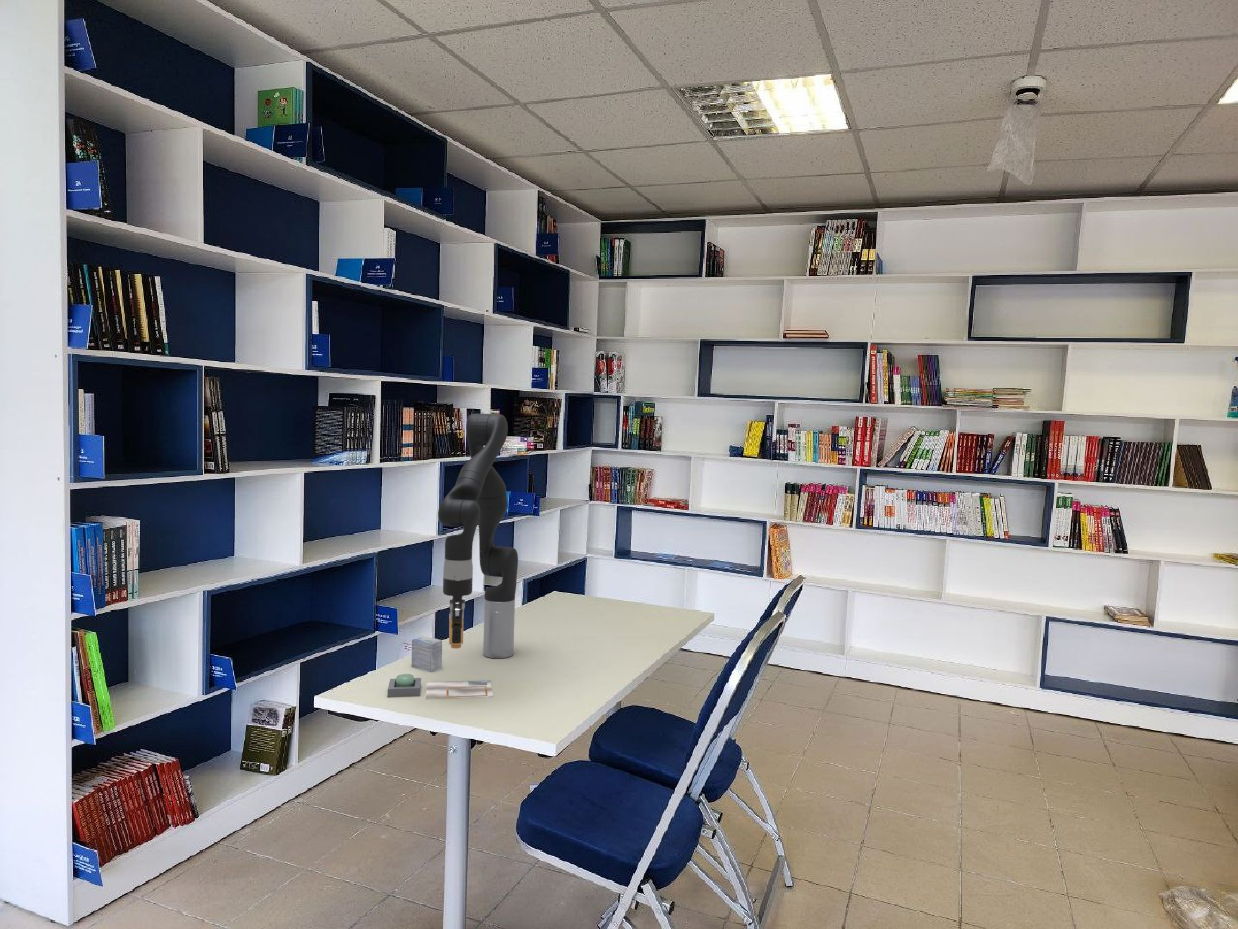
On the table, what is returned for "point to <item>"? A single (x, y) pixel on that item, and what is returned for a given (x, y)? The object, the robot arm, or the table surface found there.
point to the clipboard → (459, 689)
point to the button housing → (404, 689)
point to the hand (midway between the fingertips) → (456, 640)
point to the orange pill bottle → (453, 645)
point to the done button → (405, 680)
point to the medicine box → (427, 653)
